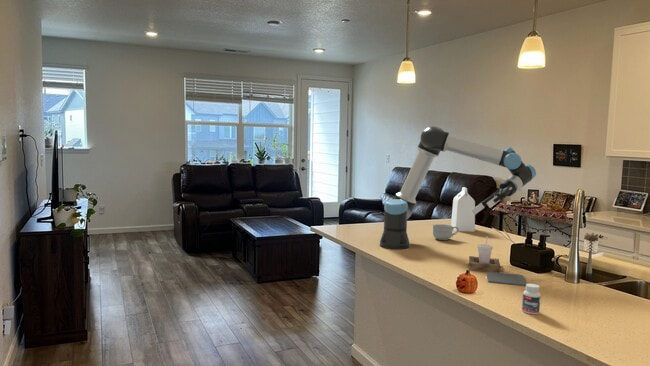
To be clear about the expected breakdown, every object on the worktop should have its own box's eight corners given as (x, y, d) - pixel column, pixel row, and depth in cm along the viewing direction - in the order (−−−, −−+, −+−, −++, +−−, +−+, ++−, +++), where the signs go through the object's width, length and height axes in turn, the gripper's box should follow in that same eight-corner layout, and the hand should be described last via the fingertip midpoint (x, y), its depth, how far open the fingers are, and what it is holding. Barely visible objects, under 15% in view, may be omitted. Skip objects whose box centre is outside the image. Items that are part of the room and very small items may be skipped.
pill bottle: (521, 313, 154) (523, 286, 153) (521, 307, 159) (523, 282, 158) (539, 315, 152) (541, 288, 151) (539, 310, 157) (541, 284, 156)
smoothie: (489, 270, 203) (491, 238, 202) (474, 267, 207) (476, 236, 205) (493, 267, 209) (495, 235, 207) (478, 264, 212) (480, 233, 211)
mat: (488, 282, 186) (488, 280, 186) (486, 272, 200) (487, 271, 200) (526, 286, 182) (526, 284, 182) (522, 276, 196) (522, 274, 196)
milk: (474, 231, 288) (477, 189, 286) (455, 231, 289) (457, 188, 286) (469, 227, 300) (471, 186, 298) (450, 227, 301) (452, 186, 298)
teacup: (430, 240, 261) (431, 225, 260) (433, 236, 271) (434, 222, 270) (456, 242, 256) (457, 228, 255) (458, 239, 266) (459, 224, 265)
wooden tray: (468, 269, 204) (469, 262, 203) (468, 262, 215) (469, 256, 215) (499, 272, 200) (500, 265, 200) (498, 265, 212) (498, 258, 212)
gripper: (531, 185, 219) (500, 209, 212) (500, 199, 242) (472, 221, 235) (521, 171, 220) (490, 195, 213) (491, 187, 243) (463, 208, 236)
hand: (480, 209), depth 224 cm, fingers open, 13 cm apart
